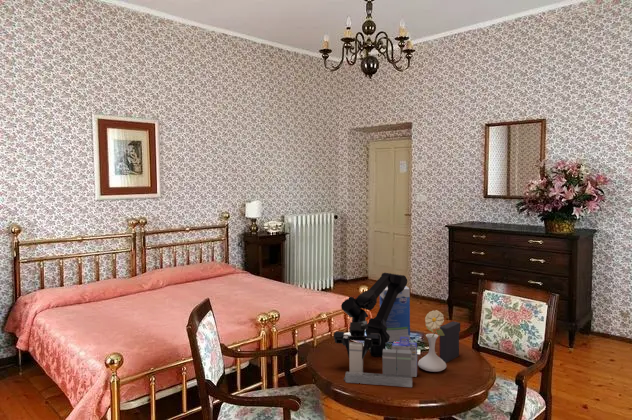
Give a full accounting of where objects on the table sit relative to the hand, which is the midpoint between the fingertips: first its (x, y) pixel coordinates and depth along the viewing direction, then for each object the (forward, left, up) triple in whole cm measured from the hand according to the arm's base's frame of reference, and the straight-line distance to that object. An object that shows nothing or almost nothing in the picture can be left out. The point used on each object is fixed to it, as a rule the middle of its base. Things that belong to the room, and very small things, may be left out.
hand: (355, 358), depth 188 cm
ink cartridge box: (-19, -2, -7) cm, 21 cm away
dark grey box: (-40, -18, -7) cm, 45 cm away
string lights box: (-19, -41, -7) cm, 46 cm away
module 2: (-13, +6, -7) cm, 16 cm away
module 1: (0, -1, -7) cm, 7 cm away
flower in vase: (-31, -6, -7) cm, 33 cm away
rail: (-8, +6, -7) cm, 12 cm away
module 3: (-18, +7, -7) cm, 20 cm away
